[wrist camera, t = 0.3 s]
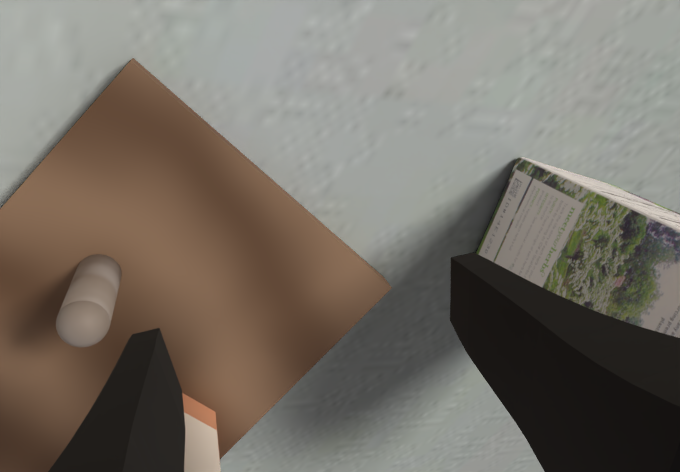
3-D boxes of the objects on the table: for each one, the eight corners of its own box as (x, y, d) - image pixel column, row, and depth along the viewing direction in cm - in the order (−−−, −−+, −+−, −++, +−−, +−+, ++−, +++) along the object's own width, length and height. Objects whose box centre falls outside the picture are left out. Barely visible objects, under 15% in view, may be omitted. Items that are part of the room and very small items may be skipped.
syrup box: (557, 284, 28) (870, 517, 15) (464, 263, 26) (734, 512, 13) (608, 182, 27) (1006, 349, 14) (512, 151, 25) (875, 313, 12)
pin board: (107, 554, 27) (91, 671, 23) (-201, 438, 21) (-314, 565, 16) (384, 277, 25) (431, 341, 21) (132, 57, 19) (115, 75, 14)
